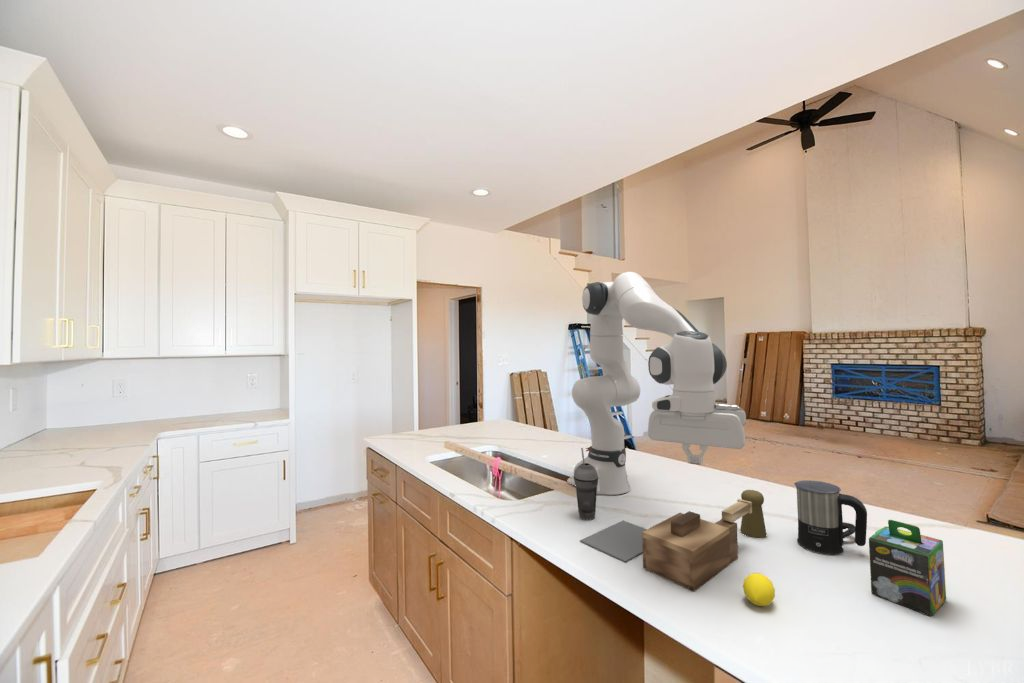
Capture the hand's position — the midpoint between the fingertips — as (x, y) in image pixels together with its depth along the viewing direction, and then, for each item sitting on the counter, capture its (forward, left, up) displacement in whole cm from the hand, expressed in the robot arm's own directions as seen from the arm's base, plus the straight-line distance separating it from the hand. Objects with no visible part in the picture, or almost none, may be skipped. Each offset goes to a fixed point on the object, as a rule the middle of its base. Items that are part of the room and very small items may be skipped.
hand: (695, 463), depth 97 cm
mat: (-18, -2, -23) cm, 30 cm away
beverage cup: (-34, +2, -23) cm, 42 cm away
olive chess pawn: (+2, +26, -23) cm, 35 cm away
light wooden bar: (+3, +13, -15) cm, 20 cm away
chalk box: (+33, +19, -23) cm, 44 cm away
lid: (-1, -2, -17) cm, 17 cm away
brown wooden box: (-1, 0, -23) cm, 23 cm away
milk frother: (+15, +34, -23) cm, 44 cm away
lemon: (+15, -4, -23) cm, 28 cm away
